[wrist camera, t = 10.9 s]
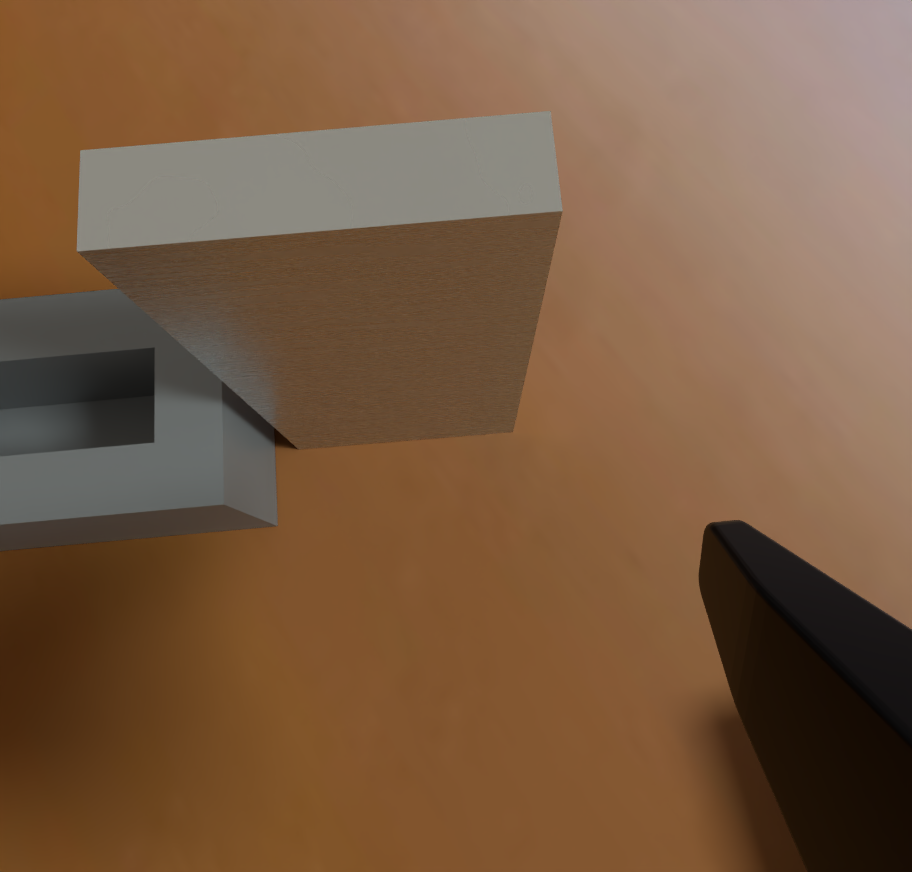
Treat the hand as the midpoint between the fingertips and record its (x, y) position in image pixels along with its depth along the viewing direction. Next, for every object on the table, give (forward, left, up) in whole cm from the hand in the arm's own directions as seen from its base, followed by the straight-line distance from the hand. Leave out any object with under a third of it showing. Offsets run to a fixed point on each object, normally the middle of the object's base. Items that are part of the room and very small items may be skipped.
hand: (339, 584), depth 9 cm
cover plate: (+4, +2, -11) cm, 12 cm away
